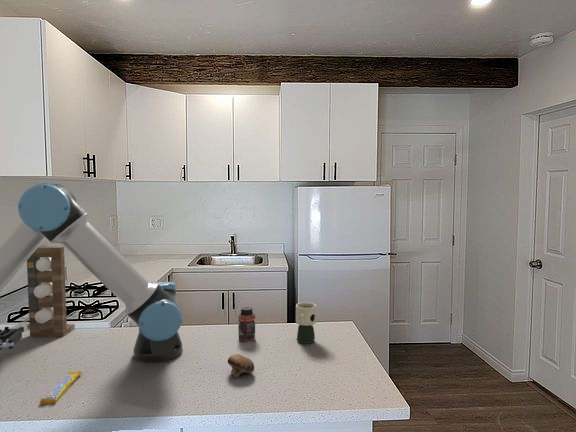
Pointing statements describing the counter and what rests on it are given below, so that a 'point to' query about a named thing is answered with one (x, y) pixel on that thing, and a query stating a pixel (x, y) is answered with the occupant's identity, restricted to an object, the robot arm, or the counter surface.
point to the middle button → (43, 290)
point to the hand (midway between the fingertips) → (24, 325)
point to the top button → (44, 264)
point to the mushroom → (240, 364)
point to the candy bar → (61, 388)
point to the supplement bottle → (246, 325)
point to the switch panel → (55, 301)
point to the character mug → (305, 322)
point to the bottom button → (44, 315)
